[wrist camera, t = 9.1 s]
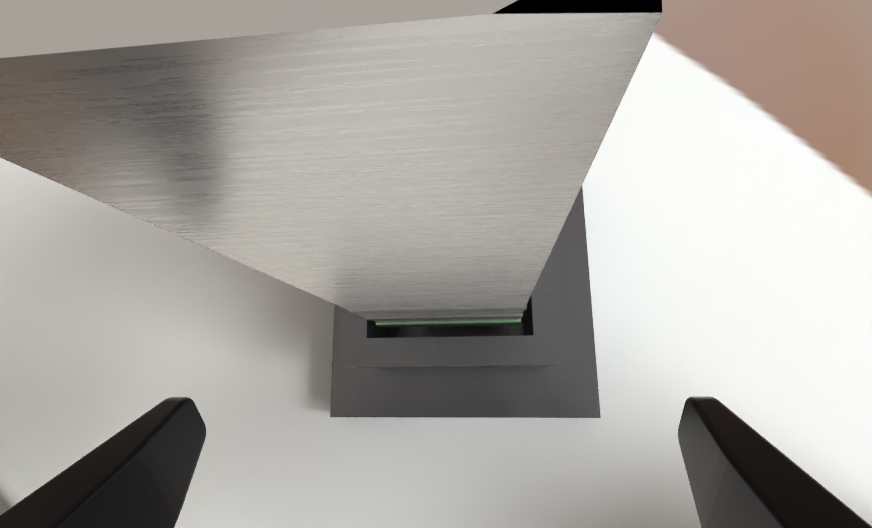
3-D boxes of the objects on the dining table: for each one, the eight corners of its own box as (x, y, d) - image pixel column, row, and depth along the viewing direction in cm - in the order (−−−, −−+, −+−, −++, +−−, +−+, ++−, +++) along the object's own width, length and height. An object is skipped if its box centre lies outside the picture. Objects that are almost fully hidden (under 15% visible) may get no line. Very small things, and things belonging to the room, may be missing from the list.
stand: (593, 414, 19) (639, 433, 13) (339, 414, 20) (275, 431, 14) (574, 171, 21) (607, 92, 15) (348, 183, 22) (295, 114, 16)
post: (518, 325, 14) (683, 6, 2) (384, 328, 15) (-201, 83, 2) (513, 196, 15) (597, -595, 3) (386, 202, 16) (-27, -456, 3)
